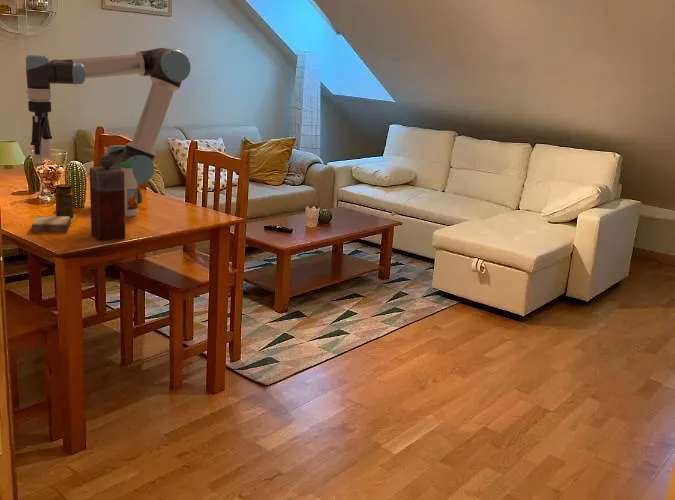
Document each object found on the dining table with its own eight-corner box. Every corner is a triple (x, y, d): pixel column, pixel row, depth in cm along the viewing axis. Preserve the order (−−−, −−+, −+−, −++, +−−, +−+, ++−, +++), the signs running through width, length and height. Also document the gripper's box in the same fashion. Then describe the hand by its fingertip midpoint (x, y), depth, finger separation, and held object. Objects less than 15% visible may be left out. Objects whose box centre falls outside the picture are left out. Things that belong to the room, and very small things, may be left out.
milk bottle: (119, 217, 261) (118, 165, 255) (114, 212, 267) (113, 161, 262) (140, 216, 265) (139, 164, 259) (134, 211, 271) (134, 161, 266)
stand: (71, 224, 247) (70, 216, 247) (66, 232, 237) (66, 224, 236) (38, 224, 245) (37, 215, 244) (32, 232, 235) (31, 223, 234)
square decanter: (115, 230, 244) (113, 151, 236) (125, 238, 235) (124, 156, 227) (89, 232, 239) (86, 151, 231) (98, 241, 230) (96, 157, 222)
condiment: (75, 214, 260) (73, 183, 257) (75, 220, 253) (73, 188, 250) (54, 215, 258) (52, 183, 255) (53, 220, 250) (52, 188, 247)
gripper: (36, 96, 256) (39, 154, 263) (19, 103, 233) (23, 165, 239) (57, 98, 258) (60, 154, 264) (43, 104, 234) (46, 166, 241)
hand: (42, 160), depth 252 cm, fingers open, 13 cm apart
